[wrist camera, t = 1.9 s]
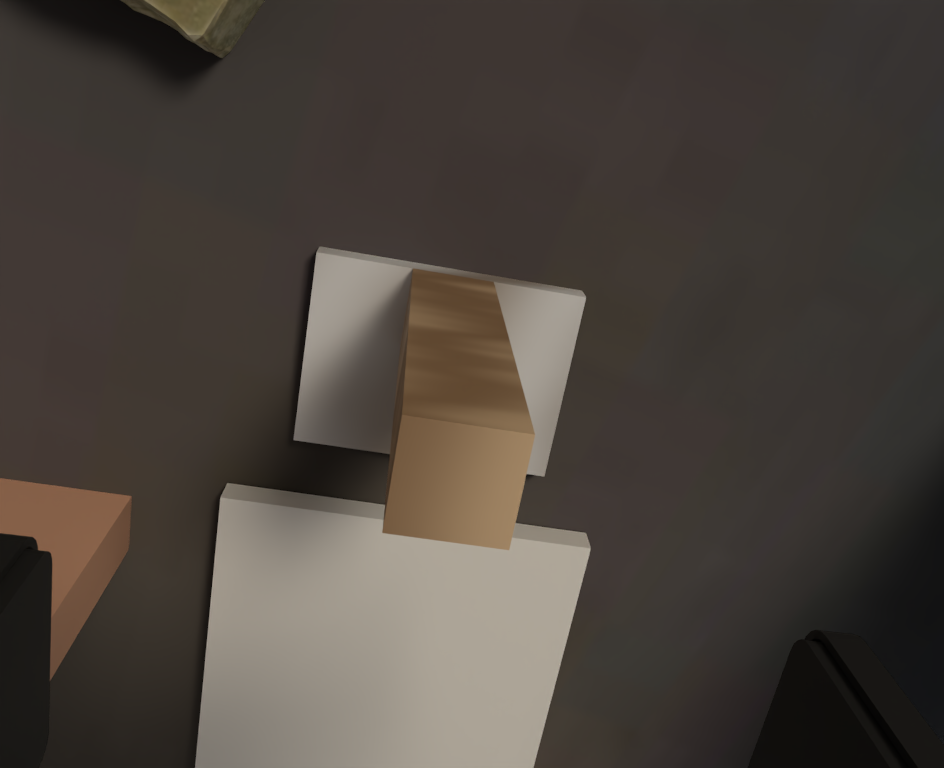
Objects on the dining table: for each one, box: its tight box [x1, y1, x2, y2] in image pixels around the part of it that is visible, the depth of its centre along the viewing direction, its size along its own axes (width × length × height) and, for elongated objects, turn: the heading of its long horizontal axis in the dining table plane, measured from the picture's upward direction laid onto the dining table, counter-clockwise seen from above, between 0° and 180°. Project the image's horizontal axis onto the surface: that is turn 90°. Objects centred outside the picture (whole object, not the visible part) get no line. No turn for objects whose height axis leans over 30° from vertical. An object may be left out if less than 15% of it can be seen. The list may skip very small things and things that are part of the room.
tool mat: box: [195, 483, 591, 768], centre depth 31 cm, size 12×14×1 cm
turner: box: [293, 247, 586, 550], centre depth 22 cm, size 8×6×12 cm
